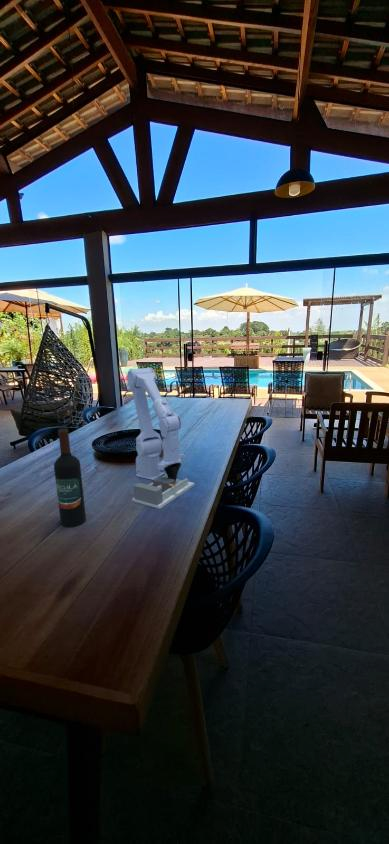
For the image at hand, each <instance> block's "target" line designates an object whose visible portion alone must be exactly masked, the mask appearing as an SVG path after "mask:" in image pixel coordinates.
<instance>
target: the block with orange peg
mask: <svg viewBox="0 0 389 844" xmlns="http://www.w3.org/2000/svg"><path fill="white" fill-rule="evenodd" d="M152 483H153V486H155V487H159V488H162V492H164V491H166V490H168V489H169V488H171V487H175V480H174V479H169V478H165V477H163V476H162V475H161V476H159V477H157V478H156V479H154V480H152Z"/></svg>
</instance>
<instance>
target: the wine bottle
mask: <svg viewBox="0 0 389 844" xmlns="http://www.w3.org/2000/svg"><path fill="white" fill-rule="evenodd" d="M57 432H58V433H57V434H58V440H59V441H58V442H59V449H60V456H59V457H58V458H57V459H56V460H55V462H54V464H53V470H54V479H55V487H56V494H57V501H58V509H59V517H60V519H59V520H60V525H61V526H62V527H65V528H74V527H79V526H80V525H81V526H82V524H84V523H85V522H86V521H87V515H86V507H85V506H86V505H85V498H84V497H85V496H84V486H83V478H82V470H81V469H82V468H81V462H80V459H78V458H77V457H76V456H75V455H73V454H72V452H71V445H70V437H69V429H68V428H59V429H58V430H57Z"/></svg>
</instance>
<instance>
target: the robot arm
mask: <svg viewBox="0 0 389 844" xmlns="http://www.w3.org/2000/svg"><path fill="white" fill-rule="evenodd" d="M126 380H127V385H128V389H129V391H130V392H131V393H132V396H133V401H134V404H135V405H134V406H135V410H136V415H137V420H138V425H139V429H140V433H139V435H138V436H137V437H136V438H135V443H136V445H135V449H136V452H137V453H136V454H137V456H136V458H135V469H136V470H135V471H136V474H135V475H134V476H135V477H138V478H143V479H147V480H152V481H153V480H154V479H156V478H157V477H159V476H161V477H162V476H164V475H167V476H168V478H169V479H174V480H175V482H176V479H178V478H177V477H178V474H179V470H180V468H181V466H182V464H181V462H182V460H184V459H185V458H186V457H185V453H182V452H180V445H179V430H180V429H181V428H182V421H181V417H180V415H179V414H177V413H176V412H174V411H173V410H172V408H171V407H170V404H169V402H168V401H167V399H165V398H163V397H162V395H161V392H160V391H159V389H158V385H157V383H156V380H157V376H156V372H155V370H154V368H152V366H151V367H145V368H144V367H142V368H129V370H128V371H127V375H126ZM147 394H148V396H149V398H150V399H151V402H152V408H153V411H154V412H155V414H156V416H157V418H158V427H159V430H160V433H158V432H157V431H156V430H154V426H153V422H152V417H151V412H150V408H149V404H148V398H147ZM161 437H162V438H161ZM162 452H163V459H162V460H161V461H160V455H161V453H162ZM162 471H164V472H162Z"/></svg>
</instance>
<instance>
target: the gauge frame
mask: <svg viewBox="0 0 389 844" xmlns="http://www.w3.org/2000/svg"><path fill="white" fill-rule="evenodd" d="M162 477H165V478H168V476H167V474H164V475H162ZM194 486H195V482H192V481H189V479H188V478H187V477H185V478H184V479H180V478H179V479H178V478H176V482H175V487H171V488H169V489H168V490H166V491H164V492H162V488H159V487H155V486H153V482H151V483H149V484H147V483H142V482H138V483H135V484H134V485H133V497H132V499H131V500H132V502H134V503H138V504H142V505H145V506H149V507H152V508H156V509H162V508H163V507H164V506H166V505H168V504H169V503H171V502H172V501H174V500H175V499H176V498H178V497H180V496H181V495H183V494H184V493H186V492H187V491H189V490H190V489H191V488H193V487H194Z"/></svg>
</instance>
